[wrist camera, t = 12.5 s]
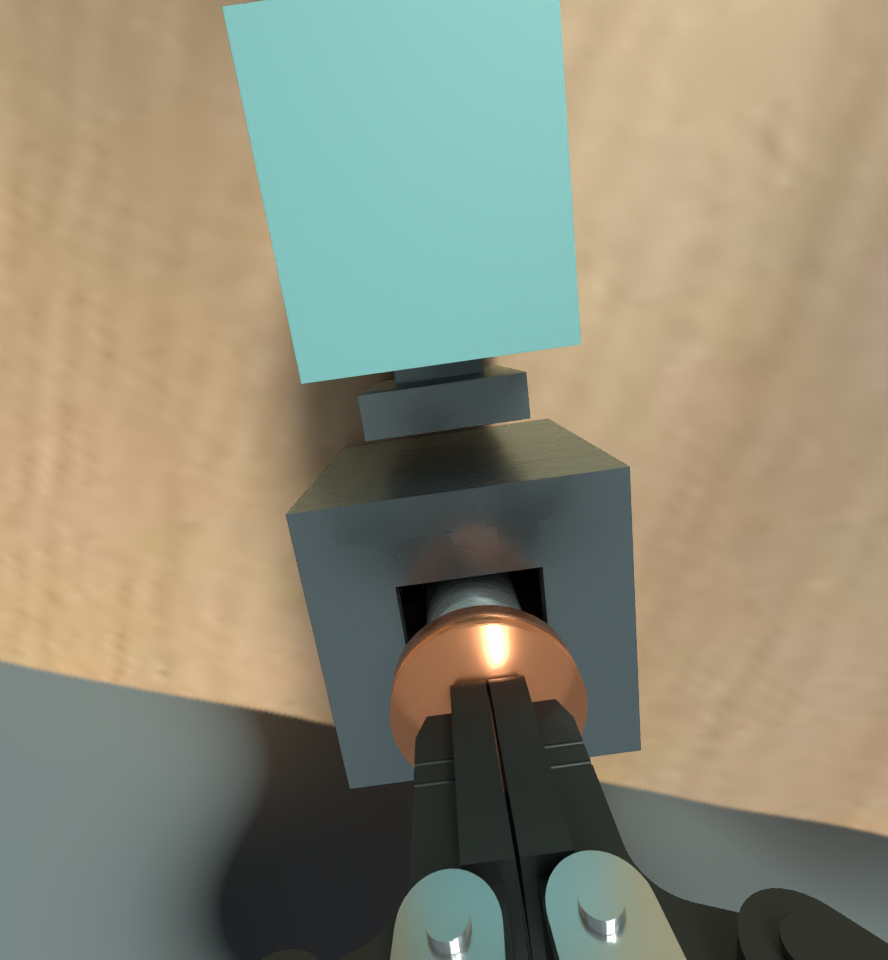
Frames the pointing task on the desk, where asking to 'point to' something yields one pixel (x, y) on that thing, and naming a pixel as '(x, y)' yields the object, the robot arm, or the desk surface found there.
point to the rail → (443, 399)
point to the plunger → (478, 655)
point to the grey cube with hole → (467, 567)
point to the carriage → (412, 177)
